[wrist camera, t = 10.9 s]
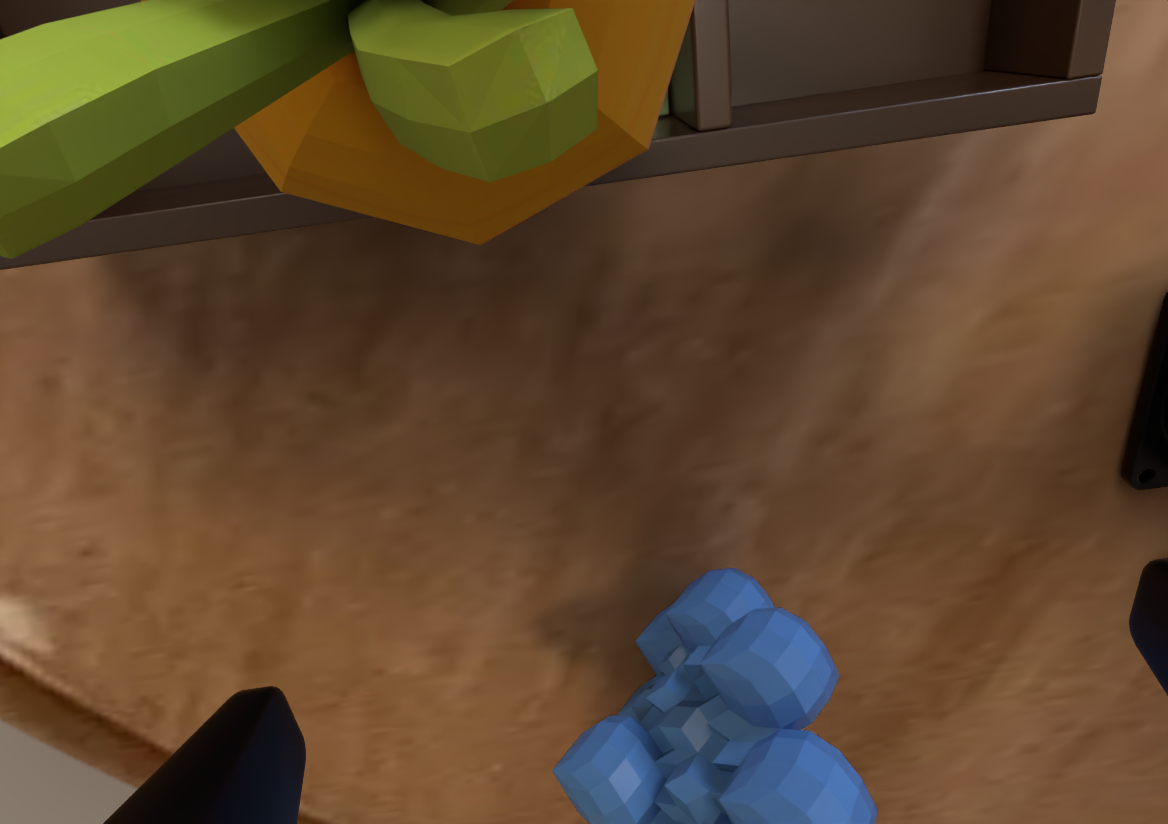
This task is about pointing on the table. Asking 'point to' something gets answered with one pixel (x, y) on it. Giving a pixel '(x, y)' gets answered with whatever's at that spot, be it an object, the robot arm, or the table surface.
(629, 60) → the carrot
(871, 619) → the table surface
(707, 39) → the wooden compartment organizer
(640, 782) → the grapes
